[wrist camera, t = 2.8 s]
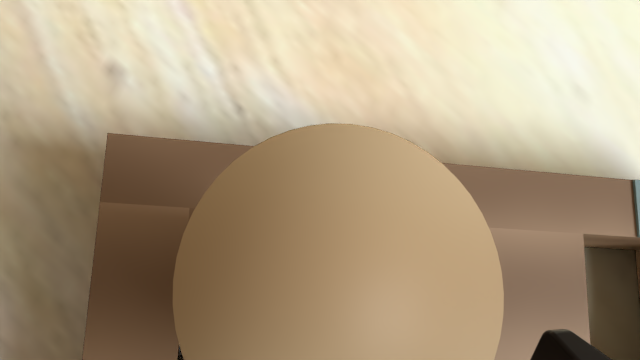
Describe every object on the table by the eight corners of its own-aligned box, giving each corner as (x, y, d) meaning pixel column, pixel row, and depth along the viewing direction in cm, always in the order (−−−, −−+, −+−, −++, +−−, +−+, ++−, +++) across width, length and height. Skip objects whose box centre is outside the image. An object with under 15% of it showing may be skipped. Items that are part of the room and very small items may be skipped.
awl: (301, 363, 18) (509, 468, 7) (173, 362, 17) (156, 479, 6) (305, 239, 19) (497, 139, 7) (184, 232, 18) (186, 107, 7)
